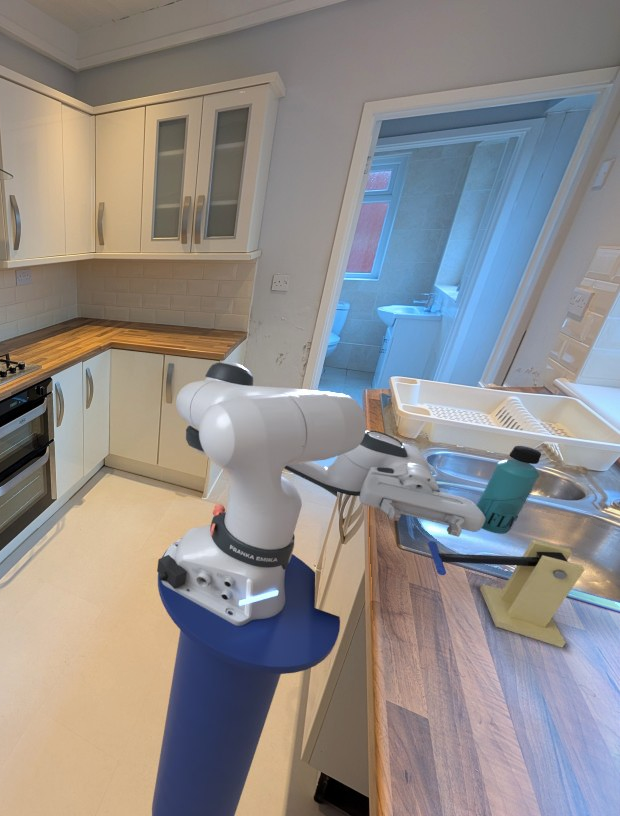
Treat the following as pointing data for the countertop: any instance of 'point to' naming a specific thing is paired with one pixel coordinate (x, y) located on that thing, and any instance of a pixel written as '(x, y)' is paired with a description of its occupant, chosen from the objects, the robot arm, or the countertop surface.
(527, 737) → the countertop surface
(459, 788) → the countertop surface
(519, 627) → the switch bracket
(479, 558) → the lever
